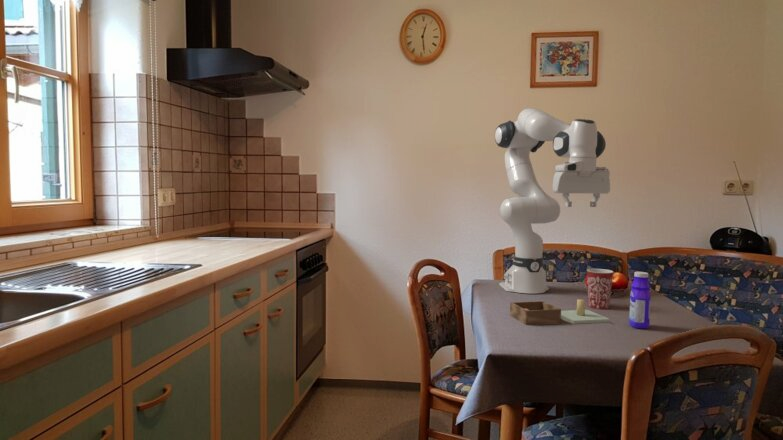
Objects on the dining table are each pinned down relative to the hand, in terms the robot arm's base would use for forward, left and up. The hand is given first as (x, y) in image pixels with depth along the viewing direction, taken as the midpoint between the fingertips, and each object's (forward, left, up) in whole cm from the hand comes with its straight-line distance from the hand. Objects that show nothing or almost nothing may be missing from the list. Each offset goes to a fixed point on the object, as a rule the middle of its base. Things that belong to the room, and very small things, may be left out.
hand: (580, 206), depth 192 cm
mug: (-8, +14, -37) cm, 41 cm away
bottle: (+20, +10, -37) cm, 43 cm away
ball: (+5, -22, -36) cm, 43 cm away
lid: (+9, -4, -36) cm, 38 cm away
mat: (+9, -4, -37) cm, 38 cm away
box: (+8, -20, -37) cm, 43 cm away
